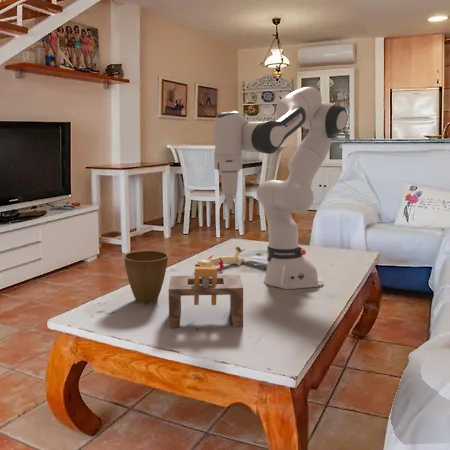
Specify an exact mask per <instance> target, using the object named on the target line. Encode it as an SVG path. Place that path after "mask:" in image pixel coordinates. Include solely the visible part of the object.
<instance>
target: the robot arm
mask: <svg viewBox="0 0 450 450" xmlns="http://www.w3.org/2000/svg"><path fill="white" fill-rule="evenodd" d="M322 100H323V99H322V95H321V93H320V91H319V90H318V89H316V88H315V87H314V86H306V87H305V86H304V87H302V88H299V89H296V90H294V91H292V92H290V93H288V94H286V95H285V96H283V97H282V98H281V99H280V100H279V101H278V102H276V106H275V115H276V119H277V120H267V121H249V120H248V119H245V118H244V117H243V116H242V115H241V114H240V112H239V111H237V110H229V111H224V112H223V111H222V112H220V113H218V114H217V115H216V116H215V118H214V125H213V142H214V143H213V144H214V147H215V148H214V152H213V155H214V156H213V163H214V165H213V167H214V169H215V170H217V171H218V172H217V173H218V174H219V175H221V189H222V191H223V192H222V193H223V194H224V203H225V205H226V209H227V210H232V209H233V208H234V207H233V203H234V202H233V201H234V197H236V195H237V192H238V191H237V190H238V180H239V172H240V171H241V170H242V168H243V152H248V153H261V154H268V155H271V154H274V153H276V152H277V151H278V150H279V149H280V148H281V147H282V145H283V143H284V142H285V140H286V139H287V138H288V137H290V136H291V135H292V134H293V133H295V132H296V131H297V130H298V129H299V128H303V129H307V130H308V131H307V134H306V136H305V137H304V139H302V140H301V142H300V144H299V145H298V146H297V148H296V149H295V151H294V152H293V154H292V155H291V157H290V159H289V160H288V162H287V168H288V172H289V174H288V177H287V179H285V180H278V179H270V180H266V181H262V182H261V183H260V184H259V185H258V186H257V190H256V199H257V201H258V203H259V204H260V205H261V207H262V208H263V211H264V214H265V217H266V221H267V226H268V245H267V250H266V259H267V266H266V272H265V276H264V280H263V282H264V284H265V285H267V286H271V287H276V288H281V289H284V290H293V289H294V290H295V289H306V288H319V286H320V287H322V286H323V285H324V280H323V278H322V277H320V276H319V275H318V271H317V267H316V266H315V264H314V263H312V262H311V261H310V260H308V259H307V258H306V257H305V255H306V253H307V250H305V249H304V248H303V247H301V246H300V245H299V227H298V224H297V223H296V221H295V220H294V218H293V216H292V214H291V213H304V212H306V211H308V210H309V209H310V208H311V207H312V205H313V203H314V192H313V189H312V183H313V180H314V177H315V175H316V174H317V172H318V170H319V169H320V167H321V166H322V164H323V162H324V161H325V159H326V157H327V155H328V153H329V151H330V149H331V148H330V147H331V145H332V140H333V138H336V137H337V136H338V135H339V134H340V133H341V132H342V131H343V130H344V129H345V127H346V126H347V124H348V117H349V115H348V112H347V109H346V107H344V106H343V105H340V104H338V103H332V102H328V101H322Z"/></svg>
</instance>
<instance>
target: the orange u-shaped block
mask: <svg viewBox="0 0 450 450" xmlns="http://www.w3.org/2000/svg"><path fill="white" fill-rule="evenodd" d="M217 275H218V266H215V267H202V266H195V265H194V276H195V284H194V285H199V277H212V284H211V285H218V284H217ZM199 296H200V295H193V305H194V306H199V304H200V303H199V302H200V301H199V300H200V299H199V298H200V297H199ZM210 301H211V302H210V303H211V306H217V295H211V300H210Z"/></svg>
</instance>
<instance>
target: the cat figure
mask: <svg viewBox="0 0 450 450" xmlns="http://www.w3.org/2000/svg"><path fill="white" fill-rule="evenodd" d="M235 250H236V251H237V252H236V253H235V254H234V255H231V256H230V255H225V256H224V255H223V256H216V257H214V254H212V255H210V257H208V258H207V259H200V260H198V261H197V262H196V263H195V265H194V267H195V266H202V267H218V266H219V268H220V269H219V271H222V270H224V267H225V265H238V264H241V265H244V264H245V263H246V261H245V258H244V257H241V258H240V259H239V255H240V254H241V252H242V250H241V247H240V246H236V247H235ZM244 262H245V263H244ZM243 263H244V264H243Z"/></svg>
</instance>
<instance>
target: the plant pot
mask: <svg viewBox="0 0 450 450" xmlns="http://www.w3.org/2000/svg"><path fill="white" fill-rule="evenodd" d="M168 259H169V254H168V253H166V252H163V251H158V250H136V251H131V252H127V253H125V254H124V255H123V261H124V266H125V267H124V268H125V272H126V276H127V280H128V284H129V286H130V289H131V292H132V295H133V297H134V299H135V301H136V302H137V303H140V304H152V303H153V304H154V303H155V302H157V301H158V299H159V296H160V293H161V291H162V287H163V285H164V284H163V283H164V281H165V276H166V271H167V265H168Z"/></svg>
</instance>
